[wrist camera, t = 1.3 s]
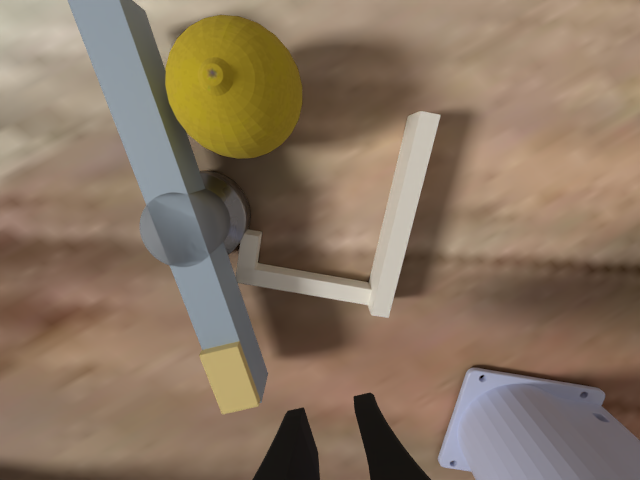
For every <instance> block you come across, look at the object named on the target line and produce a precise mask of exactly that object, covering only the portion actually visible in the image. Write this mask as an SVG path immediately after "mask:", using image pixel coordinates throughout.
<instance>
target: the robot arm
mask: <svg viewBox="0 0 640 480" xmlns="http://www.w3.org/2000/svg"><path fill="white" fill-rule="evenodd" d="M482 375H484V376H483V377H482V378H479V377H480V376H482ZM582 392H583V393H582ZM581 393H582V394H581ZM604 399H605V393H604V392H603V391H602V390H601V389H599V388H597V387H590V386H584V385H578V384H572V383H566V382H560V381H554V380H548V379H542V378H536V377H530V376H524V375H518V374H511V373H505V372H499V371H493V370H487V369H481V368H470V369H469V370H468V371H467V372H466V375H465V378H464V381H463V384H462V387H461V390H460V393H459V396H458V399H457V402H456V405H455V408H454V411H453V414H452V417H451V420H450V423H449V426H448V429H447V432H446V435H445V438H444V441H443V444H442V447H441V450H440V453H439V456H438V461H439V463H440V465H441V466H442V467H445V468H451V469H458V470H465V471H472V473H473V475H474V477H475V480H640V440H639V439H638V438H637V437H635V436H634V435H633V434H632V433H631V432H630V431H629V430H628V429H627V428H626V427H624V426H623V425H622V424H621V423H620V422H619V421H618V420H617V419H616V418H614V417H613V416H612V415H611V414H610V413H609V412H608V411H607V410H606V409H604V408H603V407H602V406H601V405H602V403H603V401H604ZM354 408H355V414H356V417H357V421H358V425H359V429H360V433H361V436H362V440H363V444H364V448H365V452H366V455H367V460H368V465H369V471H370V479H371V480H431V479H430V478H429V477H428V476H427V475H426V474H425V472H424V471H423V470H422V469H421V468H420V467H419V466H418V464H417V463H416V462H415V461H414V460H413V458H412V457H411V456H410V455H409V453H408V452H407V451H406V449H405V448H404V447H403V445H402V444H401V443H400V441H399V440H398V438H397V437H396V435H395V434H394V432H393V431H392V429H391V428H390V426H389V425H388V423H387V422H386V420H385V418H384V417H383V415H382V413H381V411H380V409H379V407H378V405H377V403H376V400H375V397H374V395H373V394H372V393H367V394H362V395H358V396H354ZM451 461H452V462H451ZM252 480H320V475H319V459H318V451H317V447H316V444H315V441H314V438H313V435H312V432H311V429H310V425H309V422H308V419H307V416H306V413H305V410H304V407H303V408H299V409H294V410H290V411H287V413H286V414H285V417H284V419H283V421H282V423H281V425H280V428H279V430H278V432H277V434H276V436H275V438H274V440H273V442H272V444H271V446H270V448H269V450H268V452H267V454H266V456H265V458H264V460H263V462H262V464H261V465H260V467H259V469H258V471H257V472H256V474H255V476H254V478H253V479H252Z"/></svg>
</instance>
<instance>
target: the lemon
mask: <svg viewBox="0 0 640 480" xmlns="http://www.w3.org/2000/svg"><path fill="white" fill-rule="evenodd" d="M165 86H166V91H167V96H168V100H169V104H170V106H171V108H172V110H173V112H174V114H175V116H176V118H177V120H178V122H179V123H180V124H181V125H182V127H183V128H184V129H185V130H186V132H187V133H188V134H189V135H190V136H191V137H192V138H193V139H195V140H196V141H197V142H198V143H200V144H201V145H202V146H203V147H205V148H207V149H209V150H211V151H213V152H215V153H217V154H220V155H222V156H227V157H232V158H238V159H241V158H255V157H258V156H261V155H264V154H267V153H270V152H271V151H273V150H274V149H275V148H277V147H278V146H280V145H281V144H282V143H283V142H284V141H285V140H286V139H287V138H288V137H289V136H290V134H291V133H292V131H293V129H294V127H295V126H296V124H297V122H298V120H299V116H300V111H301V107H302V84H301V79H300V75H299V71H298V68H297V66H296V64H295V62H294V60H293V58H292V56H291V54H290V52H289V51H288V49H287V48H286V47H285V46H284V45H283V44H282V43H281V41H280V40H279V39H278V38H277V37H276V36H275V35H274V34H273V33H271V32H270V31H268V30H267V29H266V28H264V27H263V26H261V25H260V24H258V23H256V22H253V21H251V20H248V19H245V18H242V17H239V16H228V15H218V16H213V17H208V18H204V19H202V20H200V21H198V22H197V23H195V24H193V25H191V26H189V27H188V28H187V29H186V30H185V31H184V32H183V33H182V34H181V35H180V36H179V37H178V38H177V40H176V42H175V44H174V45H173V47H172V49H171V51H170V53H169V57H168V61H167V64H166V77H165Z"/></svg>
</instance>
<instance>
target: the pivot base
mask: <svg viewBox="0 0 640 480" xmlns="http://www.w3.org/2000/svg"><path fill="white" fill-rule="evenodd" d="M200 174H201V177H202V180H203V183H204V186H205V189H208V190H210V191H212V192H213V193H215V194H216V195H217V196H219V197H220V198H221V200H222V201H223V202H224V203H225V205H226V207H227V209H228V211H229V215H230V230H229V233H228V236H227V238H226V239H225V241H224V245H225V248H226V251H227V254H230V253H231V252H232V251H233V250H234V249H235V248H236V247H237V246H238V244H239V243H240V241H241V240H242V238H243V235H244V233H245V232H246V231H247V230H248V228H249V225H250V218H251V214H250V207H249V203H248V200H247V198H246V196H245V194H244V192H243V191H242V190H241V188H240V187H239V186H238V185H237V184H236V183H235V182H234V181H232V180H231V179H230V178H228V177H226V176H224V175H222V174H219V173H216V172H211V171H200Z"/></svg>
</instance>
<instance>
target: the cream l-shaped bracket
mask: <svg viewBox="0 0 640 480" xmlns="http://www.w3.org/2000/svg"><path fill="white" fill-rule="evenodd" d="M440 116H441V115H439V114H434V113H429V112H424V111H419V112H417V113H414V114H412V115H409V116H408V118H407V122H406V126H405V131H404V135H403V139H402V143H401V148H400V152H399V156H398V160H397V165H396V169H395V173H394V177H393V182H392V186H391V190H390V194H389V199H388V203H387V207H386V211H385V216H384V220H383V224H382V228H381V233H380V237H379V241H378V245H377V250H376V254H375V258H374V262H373V267H372V271H371V275H370V279H369V282H364V281H358V280H353V279H347V278H341V277H335V276H330V275H324V274H318V273H312V272H307V271H301V270H295V269H289V268H284V267H278V266H272V265H267V264H261V263H258V258H259V251H260V244H261V238H262V232H261V231H255V230H249V229H248V230H247V231H246V232H245V233H244V235H243V238H242V240H241V241H240V248H239V256H238V263H237V271H236V281H237V283H242V284H248V285H253V286H259V287H265V288H271V289H277V290H283V291H288V292H294V293H300V294H306V295H312V296H318V297H324V298H329V299H335V300H341V301H347V302H353V303H359V304H364V305H368V307H369V310H370V313H371V315H374V316H380V317H386V318H389V314H390V310H391V306H392V302H393V298H394V295H395V291H396V287H397V283H398V279H399V275H400V271H401V267H402V263H403V260H404V256H405V252H406V248H407V244H408V240H409V236H410V232H411V228H412V225H413V221H414V217H415V213H416V209H417V205H418V201H419V197H420V193H421V190H422V186H423V182H424V178H425V174H426V170H427V166H428V162H429V158H430V155H431V151H432V147H433V143H434V139H435V135H436V131H437V127H438V123H439V120H440Z"/></svg>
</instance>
